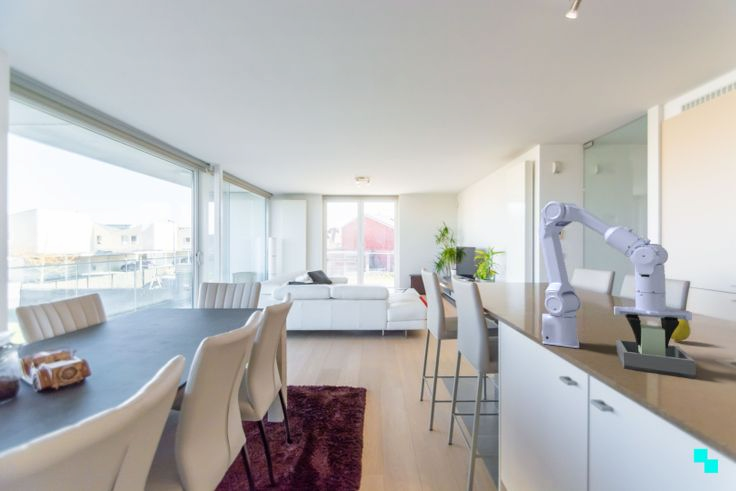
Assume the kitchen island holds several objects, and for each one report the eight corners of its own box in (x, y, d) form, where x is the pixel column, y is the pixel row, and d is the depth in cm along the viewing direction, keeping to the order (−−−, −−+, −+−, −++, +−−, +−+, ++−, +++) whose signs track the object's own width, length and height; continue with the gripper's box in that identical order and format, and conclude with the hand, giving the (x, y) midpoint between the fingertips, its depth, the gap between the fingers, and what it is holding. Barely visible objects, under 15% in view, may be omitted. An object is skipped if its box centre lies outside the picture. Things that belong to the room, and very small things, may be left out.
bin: (624, 368, 78) (623, 352, 78) (616, 353, 88) (616, 339, 88) (695, 378, 71) (695, 361, 71) (678, 361, 82) (678, 345, 82)
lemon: (695, 345, 94) (694, 318, 94) (673, 344, 95) (673, 318, 95) (681, 340, 100) (680, 314, 100) (660, 339, 101) (660, 314, 101)
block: (642, 355, 79) (641, 327, 79) (638, 350, 83) (637, 324, 83) (665, 358, 77) (664, 329, 77) (660, 353, 80) (660, 326, 80)
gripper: (616, 292, 80) (617, 345, 80) (695, 295, 73) (697, 355, 72) (612, 288, 86) (613, 338, 86) (685, 292, 78) (687, 346, 78)
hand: (651, 345), depth 80 cm, fingers closed on block, 4 cm apart
